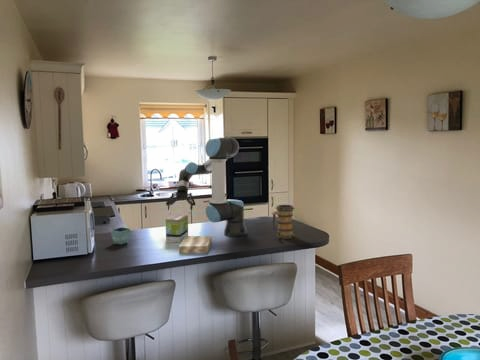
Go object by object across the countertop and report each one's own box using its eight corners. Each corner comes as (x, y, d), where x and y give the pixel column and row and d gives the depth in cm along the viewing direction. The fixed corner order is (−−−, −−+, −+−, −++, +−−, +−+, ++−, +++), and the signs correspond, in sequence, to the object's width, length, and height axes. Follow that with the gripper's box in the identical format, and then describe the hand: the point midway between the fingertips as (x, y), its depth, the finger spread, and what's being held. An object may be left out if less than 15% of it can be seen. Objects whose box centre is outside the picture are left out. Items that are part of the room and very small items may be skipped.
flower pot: (131, 242, 235) (130, 228, 234) (120, 246, 228) (120, 231, 227) (122, 240, 240) (121, 227, 239) (111, 244, 232) (110, 230, 231)
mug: (299, 237, 239) (299, 206, 237) (278, 241, 230) (278, 209, 228) (286, 232, 250) (286, 203, 248) (266, 237, 241) (265, 206, 238)
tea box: (180, 242, 232) (179, 219, 230) (165, 242, 234) (164, 219, 232) (188, 236, 247) (188, 214, 245) (174, 235, 249) (173, 214, 247)
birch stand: (211, 242, 232) (211, 235, 231) (207, 253, 210) (207, 246, 209) (186, 242, 232) (185, 236, 232) (179, 253, 210) (179, 246, 210)
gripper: (200, 191, 267) (198, 216, 254) (166, 191, 268) (162, 216, 255) (199, 184, 261) (197, 210, 248) (164, 185, 262) (160, 210, 249)
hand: (179, 213), depth 251 cm, fingers open, 13 cm apart
